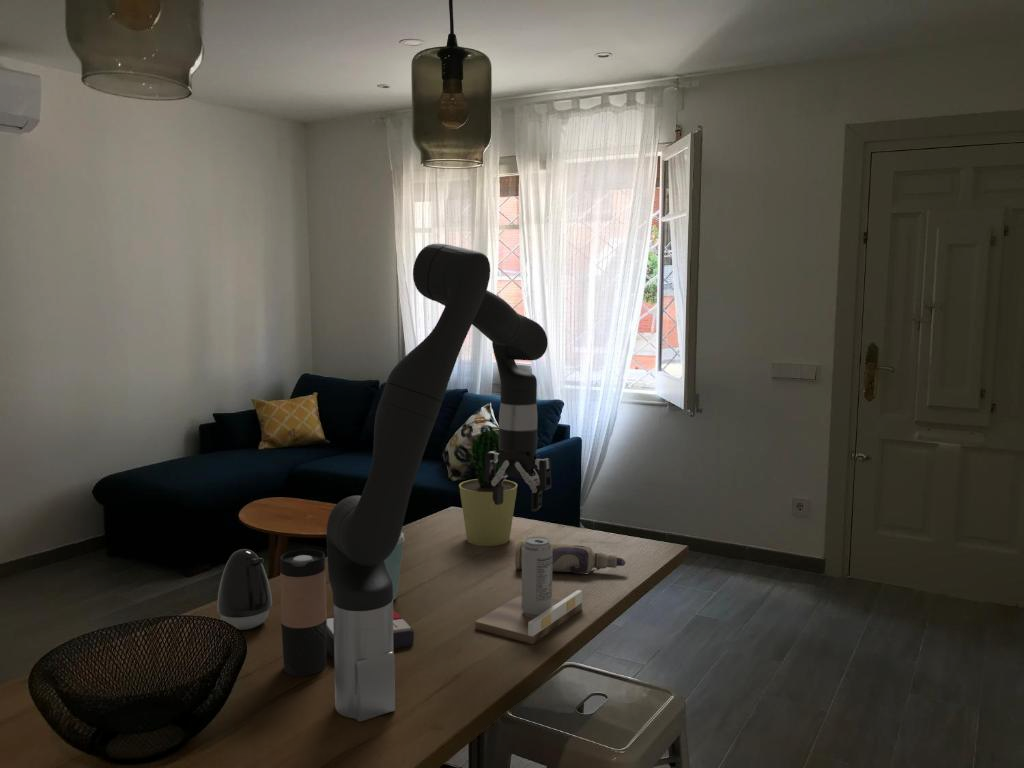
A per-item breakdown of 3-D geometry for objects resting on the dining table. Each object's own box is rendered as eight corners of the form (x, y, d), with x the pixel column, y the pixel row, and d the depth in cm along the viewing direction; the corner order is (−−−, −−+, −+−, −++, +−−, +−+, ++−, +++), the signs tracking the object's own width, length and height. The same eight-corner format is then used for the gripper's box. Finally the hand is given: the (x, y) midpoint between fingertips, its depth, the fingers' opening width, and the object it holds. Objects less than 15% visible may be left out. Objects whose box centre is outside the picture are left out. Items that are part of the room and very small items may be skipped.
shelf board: (532, 644, 152) (532, 636, 152) (475, 628, 159) (475, 621, 159) (581, 609, 169) (582, 602, 169) (528, 596, 176) (528, 590, 176)
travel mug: (309, 653, 148) (307, 546, 146) (336, 665, 143) (334, 555, 141) (273, 668, 142) (270, 556, 140) (300, 681, 137) (297, 566, 135)
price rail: (533, 636, 152) (533, 623, 152) (528, 635, 152) (528, 622, 152) (582, 602, 169) (583, 591, 168) (577, 601, 169) (577, 589, 169)
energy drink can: (536, 605, 167) (537, 534, 165) (557, 613, 163) (558, 540, 161) (515, 613, 163) (515, 540, 161) (536, 622, 159) (537, 547, 157)
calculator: (414, 627, 152) (335, 638, 145) (413, 649, 152) (334, 661, 145) (395, 606, 161) (319, 616, 154) (394, 628, 162) (318, 638, 155)
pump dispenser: (243, 640, 153) (240, 561, 152) (206, 628, 159) (203, 552, 157) (284, 621, 162) (282, 547, 160) (248, 610, 167) (246, 538, 166)
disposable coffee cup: (395, 609, 168) (395, 538, 167) (346, 605, 170) (345, 535, 169) (412, 591, 179) (411, 524, 177) (365, 587, 181) (364, 521, 179)
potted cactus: (493, 527, 227) (493, 421, 224) (529, 540, 215) (529, 428, 212) (447, 538, 217) (447, 427, 214) (482, 552, 206) (482, 435, 202)
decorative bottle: (513, 574, 190) (513, 546, 190) (518, 563, 198) (518, 537, 197) (624, 581, 186) (625, 552, 185) (625, 570, 193) (626, 543, 193)
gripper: (559, 427, 158) (557, 508, 160) (498, 420, 166) (497, 498, 168) (539, 432, 152) (537, 517, 154) (477, 424, 160) (476, 505, 162)
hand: (516, 507), depth 161 cm, fingers open, 8 cm apart
